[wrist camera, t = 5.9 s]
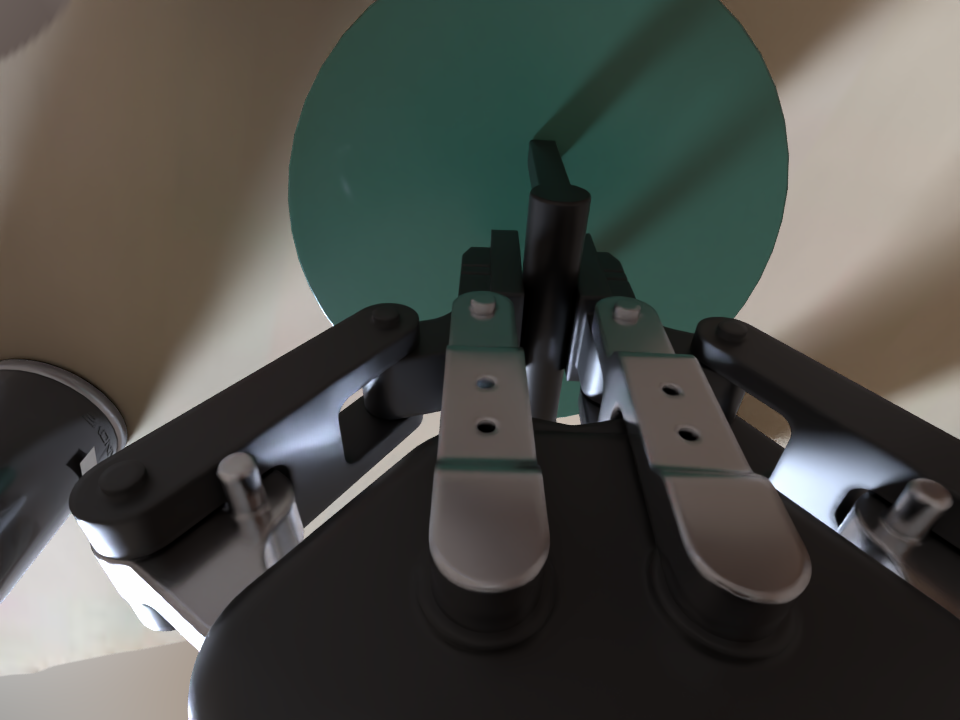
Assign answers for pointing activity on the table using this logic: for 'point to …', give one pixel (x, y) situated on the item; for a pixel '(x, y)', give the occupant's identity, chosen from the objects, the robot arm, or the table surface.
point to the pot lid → (540, 161)
